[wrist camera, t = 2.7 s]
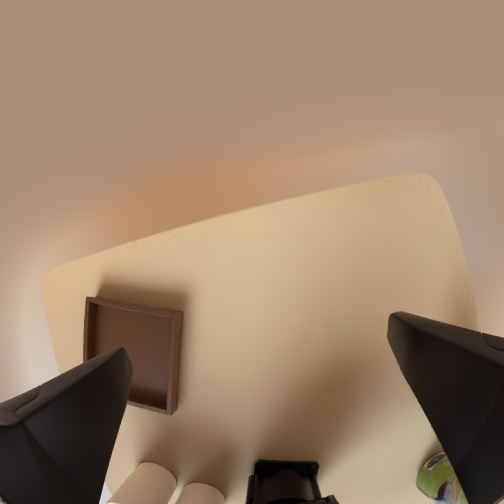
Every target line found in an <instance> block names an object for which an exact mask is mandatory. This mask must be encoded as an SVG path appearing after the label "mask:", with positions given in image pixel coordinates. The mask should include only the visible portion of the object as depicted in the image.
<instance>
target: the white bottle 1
mask: <svg viewBox="0 0 504 504" xmlns="http://www.w3.org/2000/svg"><path fill="white" fill-rule="evenodd" d="M176 486H177V483H176V479H175V477H174V476H173V474H172V473H171V472H170V471H169V470H167V469H166V468H164V467H163V466H161V465H158V464H156V463H151V462H145V463H141V464H139V465H138V466H137V467H136V469H135V470H134V471H133V472H132V473H131V475H130V476H129V477H128V478H127V479H126V480H125V482H124V483H123V484H122V485H121V486H120V488H119V489H118V490H117V491H116V492H115V493H114V495H113V496H112V497H111V498H110V499H109V500H108V502H107V503H106V504H168V502H169V500H170V498H171V496H172V494H173V492H174V490H175V489H176Z"/></svg>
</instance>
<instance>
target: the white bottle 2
mask: <svg viewBox="0 0 504 504" xmlns="http://www.w3.org/2000/svg"><path fill="white" fill-rule="evenodd" d="M224 502H225V499H224V496H223V494H222V493H221V492H220V491H219V490H218V489H216V488H215V487H213V486H210V485H207V484H203V483H191V484H188V485H186V486H185V487H183V489H182V491H181V493H180V495H179V497H178V499H177V501H176V503H175V504H224Z"/></svg>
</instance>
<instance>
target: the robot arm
mask: <svg viewBox="0 0 504 504" xmlns="http://www.w3.org/2000/svg"><path fill="white" fill-rule="evenodd" d="M387 338H388V342H389V344H390V346H391V348H392V351H393V353H394V355H395V358H396V360H397V362H398V364H399V367H400V369H401V371H402V373H403V375H404V377H405V379H406V381H407V382H408V384H409V386H410V388H411V389H412V391H413V393H414V395H415V397H416V398H417V400H418V402H419V404H420V406H421V407H422V409H423V411H424V413H425V415H426V417H427V418H428V420H429V422H430V424H431V426H432V428H433V430H434V432H435V434H436V436H437V438H438V440H439V442H440V444H441V446H442V448H443V450H444V452H445V454H446V456H447V458H448V460H449V462H450V464H451V466H452V468H453V469H454V473H455V475H456V477H457V479H458V482H459V484H460V486H461V488H462V491H463V493H464V495H465V498H466V500H467V502H468V504H498V503H499V502H501V501H502V500H503V499H504V338H502V337H498V336H494V335H489V334H485V333H482V334H481V332H478V331H474V330H470V329H466V328H462V327H458V326H454V325H451V324H447V323H443V322H439V321H435V320H432V319H428V318H424V317H420V316H417V315H413V314H409V313H406V312H402V311H399V312H395V313H391V314H390V316H389V321H388V333H387ZM132 376H133V366H132V363H131V360H130V358H129V355H128V353H127V350H126V349H125V348H124V347H113V348H111V349H109V350H107V351H105V352H103V353H101V354H100V355H98V356H96V357H94V358H92V359H90V360H88V361H86V362H84V363H82V364H80V365H79V366H77V367H75V368H73V369H71V370H69V371H67V372H65V373H63V374H61V375H59V376H57V377H55V378H53V379H52V380H50V381H48V382H45V383H44V384H42V385H39V386H38V387H36V388H34V389H32V390H29V391H27V392H25V393H23V394H21V395H19V396H16V397H14V398H12V399H10V400H7V401H5V402H2V403H0V504H99V501H100V497H101V493H102V489H103V485H104V481H105V477H106V473H107V469H108V466H109V462H110V458H111V455H112V451H113V448H114V444H115V441H116V438H117V434H118V431H119V428H120V424H121V421H122V418H123V415H124V412H125V408H126V404H127V400H128V395H129V390H130V386H131V381H132ZM258 464H262V465H258ZM313 465H316V466H315V467H312V466H313ZM318 469H319V464H318V462H315V461H311V462H298V461H270V460H258V461H256V463H255V470H254V475H251V476H249V480H248V488H247V496H246V504H339V503H338V501H337V500H336V498H335V497H334V495H329V496H327V497H324V498H322V497H321V493H320V490H319V486H318V483H317V479H316V476H317V473H318Z"/></svg>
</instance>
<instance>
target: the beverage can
mask: <svg viewBox="0 0 504 504" xmlns="http://www.w3.org/2000/svg"><path fill="white" fill-rule="evenodd" d="M416 485H417V488H418V489H419V490H420V491H421V492H422V493H424V494H425V495H426V496H427V497H428V498H430V499H431V500H432V501H433V502H435V503H436V504H468V502H467V500H466V498H465V495H464V493H463V491H462V488H461V486H460V484H459V482H458V479H457V477H456V475H455V473H454V469H453V468H452V466H451V464H450V462H449V460H448V458H447V456H446V454H445V452H444V451H443V452H440V453H438V454H436V455H434V456H433V457H431V458H430V459H429V460H428V461H427V462H426V463H425V464H424V465H423V466H422V468H421V470H420V471H419V473H418V476H417V479H416Z"/></svg>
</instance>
